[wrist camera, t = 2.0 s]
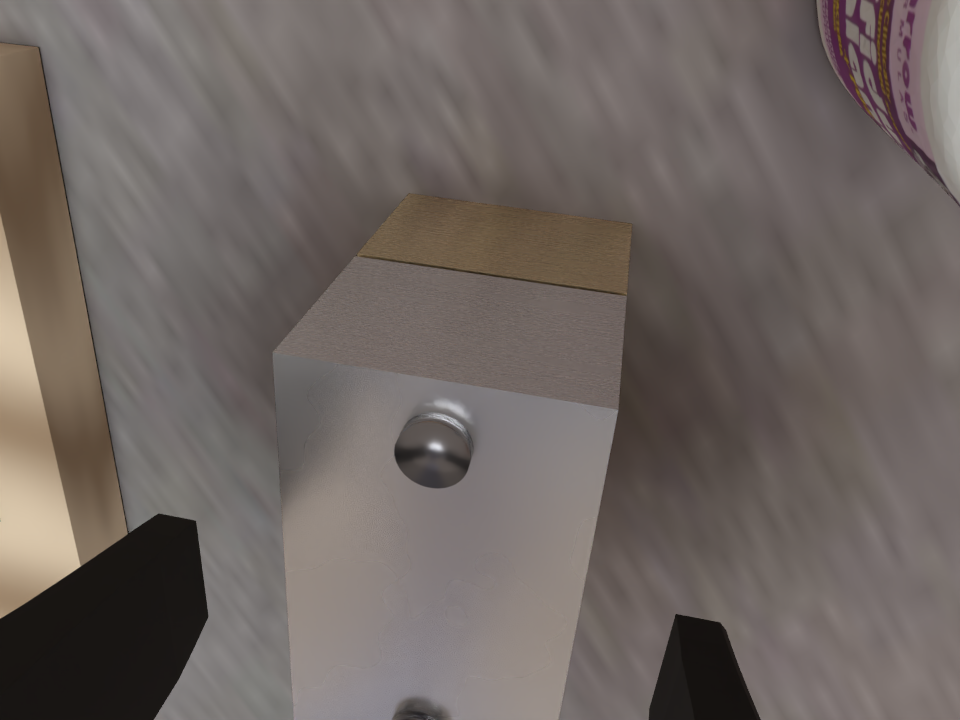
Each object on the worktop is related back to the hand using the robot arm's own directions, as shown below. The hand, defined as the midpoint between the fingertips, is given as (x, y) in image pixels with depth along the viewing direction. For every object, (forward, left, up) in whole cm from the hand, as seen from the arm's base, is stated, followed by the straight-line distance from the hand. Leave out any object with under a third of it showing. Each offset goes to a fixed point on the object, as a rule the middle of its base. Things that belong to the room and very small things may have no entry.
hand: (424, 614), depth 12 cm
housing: (0, 0, -7) cm, 7 cm away
